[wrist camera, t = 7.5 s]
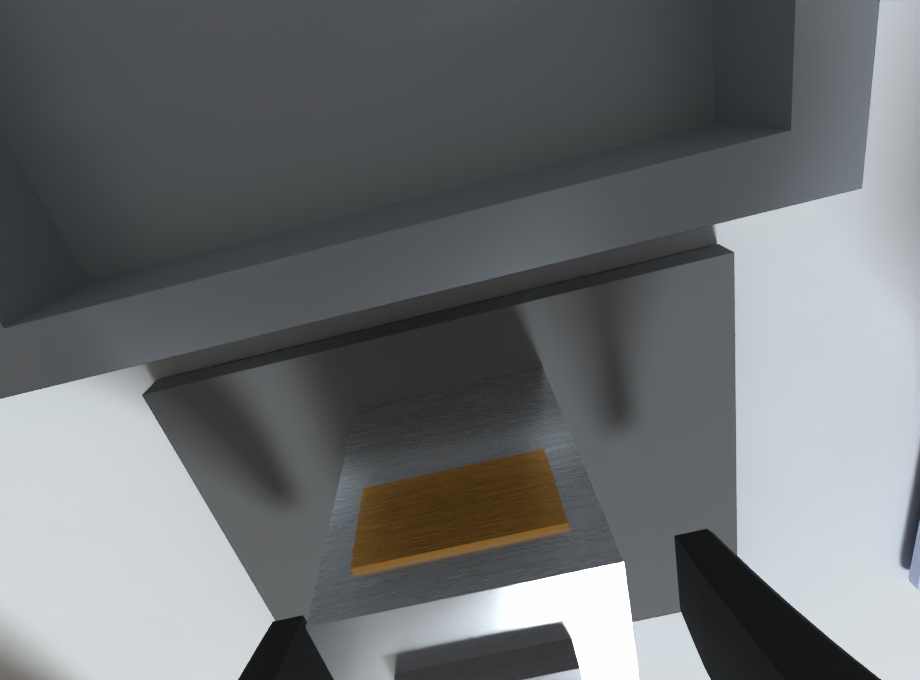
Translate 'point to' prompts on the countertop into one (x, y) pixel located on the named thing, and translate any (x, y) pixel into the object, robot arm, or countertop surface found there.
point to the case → (382, 152)
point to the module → (470, 545)
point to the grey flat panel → (473, 359)
